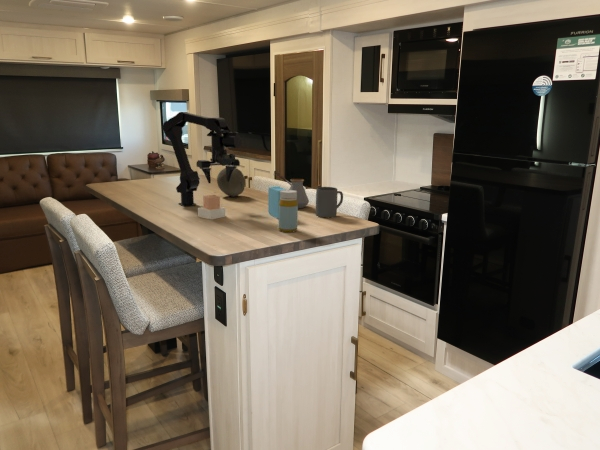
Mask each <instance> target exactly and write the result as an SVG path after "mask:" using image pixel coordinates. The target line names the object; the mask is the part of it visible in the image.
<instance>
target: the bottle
mask: <svg viewBox="0 0 600 450" xmlns="http://www.w3.org/2000/svg"><path fill="white" fill-rule="evenodd" d="M296 197H297V191H295V190H289V189H286V190H281V191H280V202H279V219H278V230H279V232H282V231H283V233H294V232H293V231H295V232H296V231H297V230H298V215H299V214H298V213H299V212H298V211H299V210H298V209H299V208H298V203H297V198H296Z"/></svg>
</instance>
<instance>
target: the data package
mask: <svg viewBox="0 0 600 450" xmlns="http://www.w3.org/2000/svg"><path fill="white" fill-rule="evenodd" d="M281 190H287V189H286V188H284V187H280V186H269V187H268V195H267V196H268V199H267V200H268V202H267V206H268V207H267V212H268V214H269V215H270V216H272V217H274V218H275V219H277V220H279V202H280V191H281Z"/></svg>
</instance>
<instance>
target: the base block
mask: <svg viewBox="0 0 600 450" xmlns="http://www.w3.org/2000/svg"><path fill="white" fill-rule="evenodd" d="M197 217H199V218H202V219H203V218H204V219H207V220H215V219H221V218H224V217H226V207H222V206H220V209H212V210H208V209H206V208H204V206H201V207H197Z"/></svg>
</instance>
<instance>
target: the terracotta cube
mask: <svg viewBox="0 0 600 450" xmlns="http://www.w3.org/2000/svg"><path fill="white" fill-rule="evenodd" d="M203 207H204V208H206V209H208V210H212V209H220V207H221V196H219V195H216V194H211V195H207V194H206V195H203Z"/></svg>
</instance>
